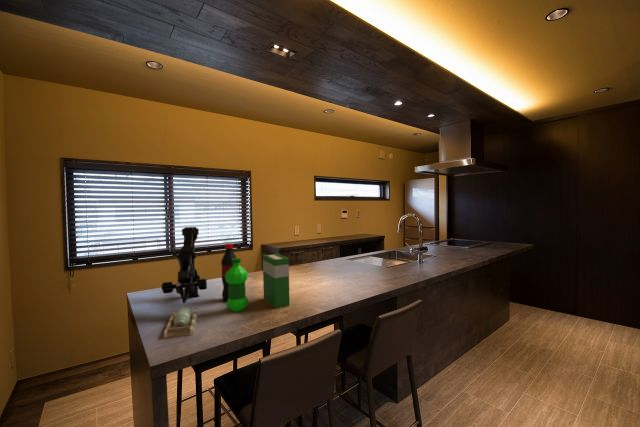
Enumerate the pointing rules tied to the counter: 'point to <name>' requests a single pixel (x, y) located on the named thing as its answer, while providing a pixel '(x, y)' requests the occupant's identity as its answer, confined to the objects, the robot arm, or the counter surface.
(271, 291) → the green cereal box
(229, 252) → the cola bottle
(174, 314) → the rest
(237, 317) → the counter surface
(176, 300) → the counter surface
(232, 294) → the plastic bottle
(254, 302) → the counter surface
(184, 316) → the glass bottle
